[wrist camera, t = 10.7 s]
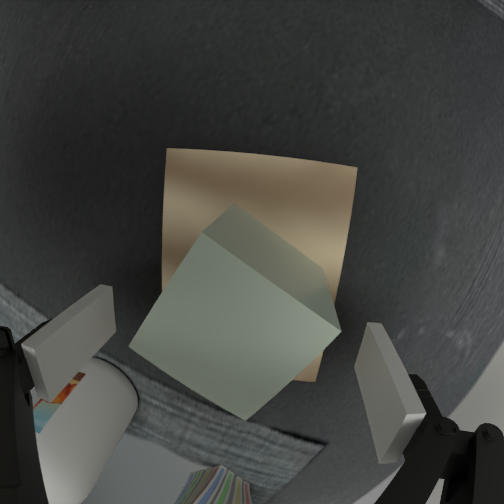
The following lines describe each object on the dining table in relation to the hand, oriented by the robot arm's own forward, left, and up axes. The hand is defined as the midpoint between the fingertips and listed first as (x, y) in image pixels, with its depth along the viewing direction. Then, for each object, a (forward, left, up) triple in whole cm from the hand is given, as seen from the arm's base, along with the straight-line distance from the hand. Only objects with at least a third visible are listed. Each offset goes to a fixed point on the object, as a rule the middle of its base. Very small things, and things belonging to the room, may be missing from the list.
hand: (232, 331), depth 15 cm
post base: (0, 0, -7) cm, 7 cm away
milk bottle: (+14, -13, -7) cm, 20 cm away
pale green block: (0, 0, -6) cm, 6 cm away
